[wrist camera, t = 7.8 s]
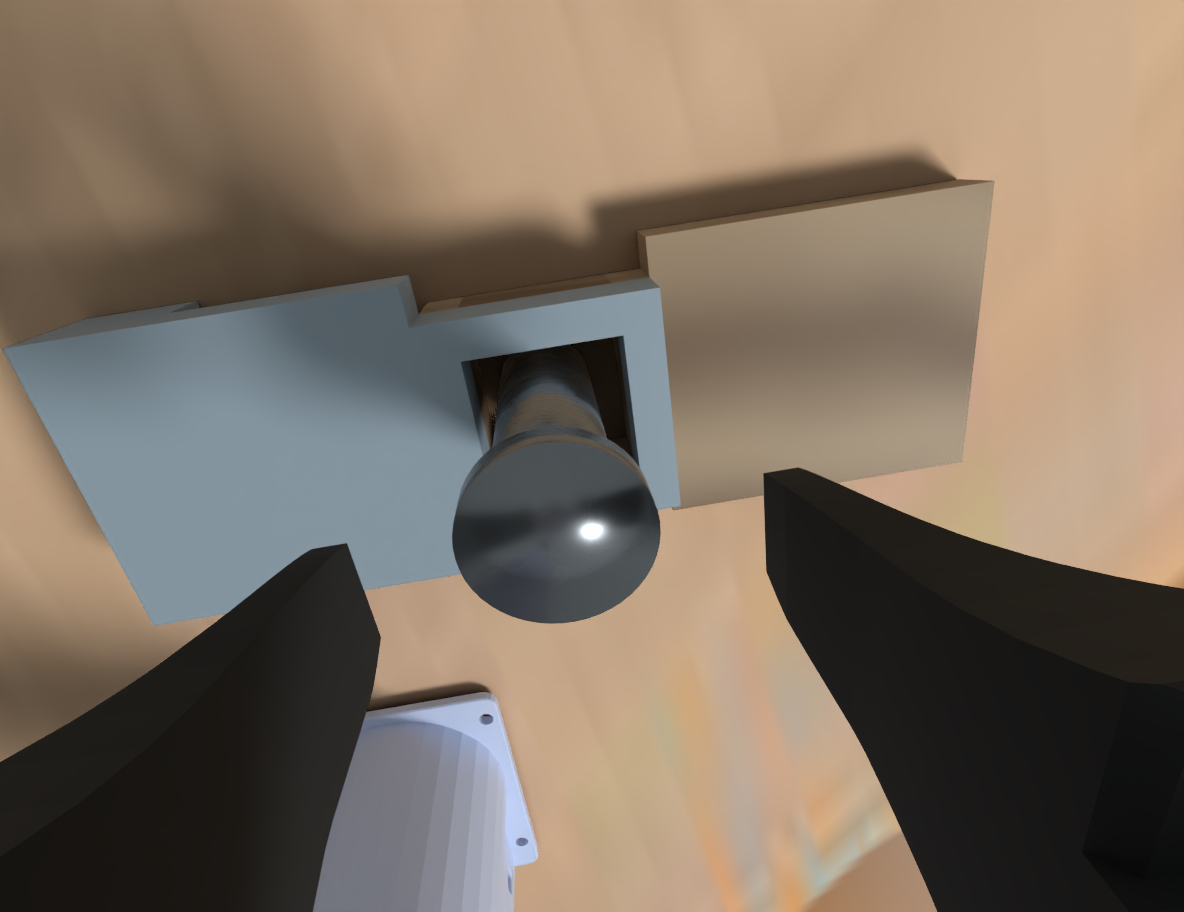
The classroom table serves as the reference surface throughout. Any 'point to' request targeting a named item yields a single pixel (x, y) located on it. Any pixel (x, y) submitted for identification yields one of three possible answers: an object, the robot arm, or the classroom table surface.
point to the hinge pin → (553, 500)
